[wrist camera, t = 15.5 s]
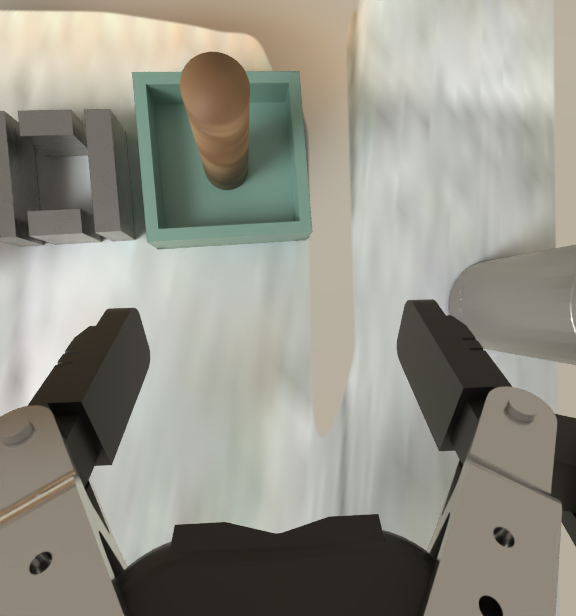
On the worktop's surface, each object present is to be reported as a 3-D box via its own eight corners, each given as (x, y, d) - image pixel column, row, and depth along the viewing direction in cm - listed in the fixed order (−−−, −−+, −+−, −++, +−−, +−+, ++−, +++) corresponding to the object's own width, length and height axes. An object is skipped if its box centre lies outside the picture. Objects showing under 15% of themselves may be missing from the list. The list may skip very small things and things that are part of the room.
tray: (293, 97, 36) (299, 71, 32) (304, 240, 36) (312, 231, 32) (145, 99, 34) (132, 72, 30) (158, 249, 34) (146, 241, 30)
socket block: (125, 132, 34) (109, 109, 30) (135, 239, 34) (120, 231, 30) (9, 135, 33) (-24, 111, 29) (19, 246, 33) (-12, 238, 29)
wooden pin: (245, 146, 34) (246, 51, 21) (249, 189, 34) (253, 120, 21) (202, 147, 34) (176, 52, 21) (206, 191, 34) (183, 122, 21)
